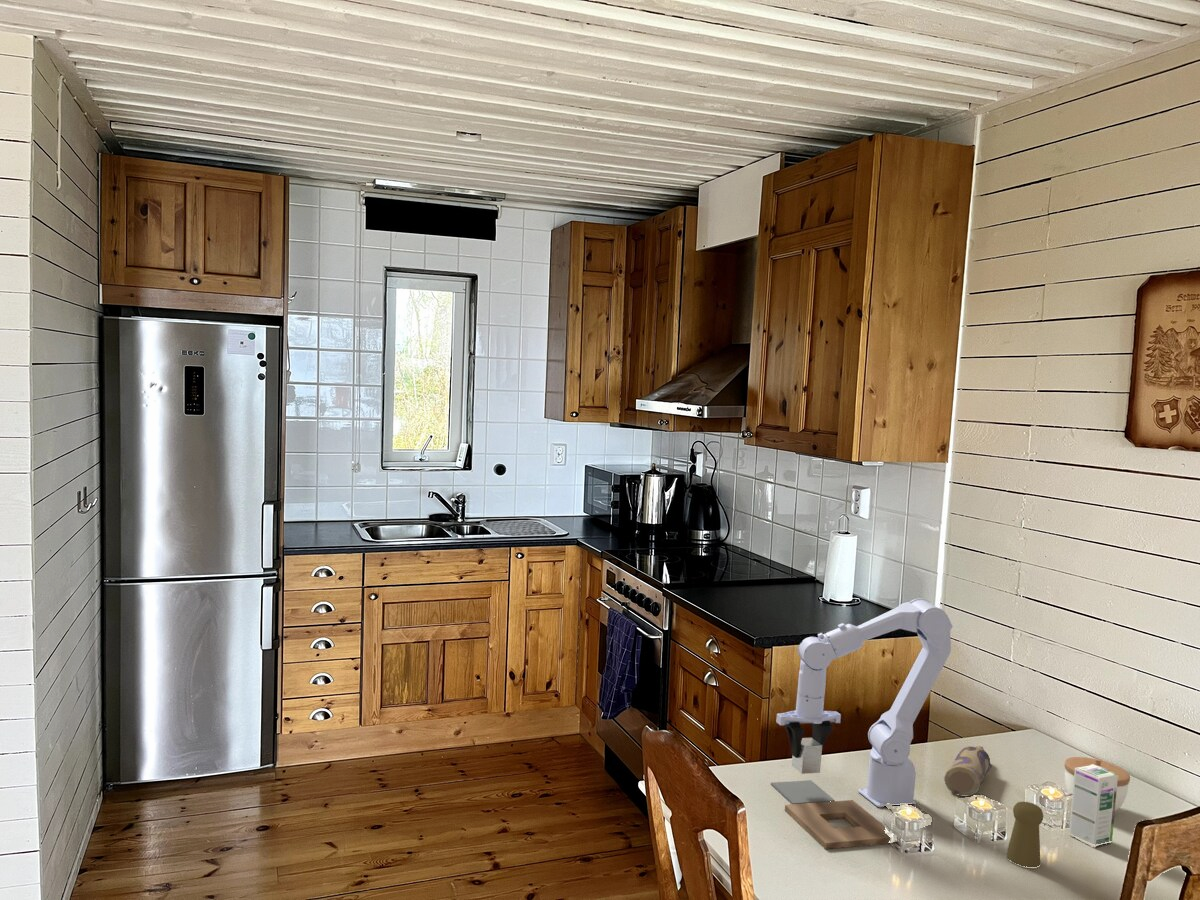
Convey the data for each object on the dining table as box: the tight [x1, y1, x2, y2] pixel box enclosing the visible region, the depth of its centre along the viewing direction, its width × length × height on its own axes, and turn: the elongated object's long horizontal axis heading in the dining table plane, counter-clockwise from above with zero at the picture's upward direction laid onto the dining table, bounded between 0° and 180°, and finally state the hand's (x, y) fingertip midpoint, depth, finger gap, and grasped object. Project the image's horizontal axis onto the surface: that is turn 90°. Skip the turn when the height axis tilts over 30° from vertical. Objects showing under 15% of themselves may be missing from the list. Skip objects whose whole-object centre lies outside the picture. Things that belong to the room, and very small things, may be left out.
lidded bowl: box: [1063, 756, 1131, 811], centre depth 198 cm, size 13×13×11 cm
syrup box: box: [1068, 764, 1118, 845], centre depth 183 cm, size 6×6×14 cm
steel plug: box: [791, 737, 823, 775], centre depth 195 cm, size 4×4×6 cm
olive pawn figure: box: [1005, 801, 1044, 867], centre depth 172 cm, size 6×6×11 cm
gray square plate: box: [770, 779, 836, 804], centre depth 196 cm, size 10×10×1 cm
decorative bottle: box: [943, 745, 993, 796], centre depth 211 cm, size 26×8×7 cm, turn 147°
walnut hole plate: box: [784, 799, 890, 850], centre depth 181 cm, size 16×16×1 cm
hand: (805, 755), depth 195 cm, fingers closed on steel plug, 4 cm apart
